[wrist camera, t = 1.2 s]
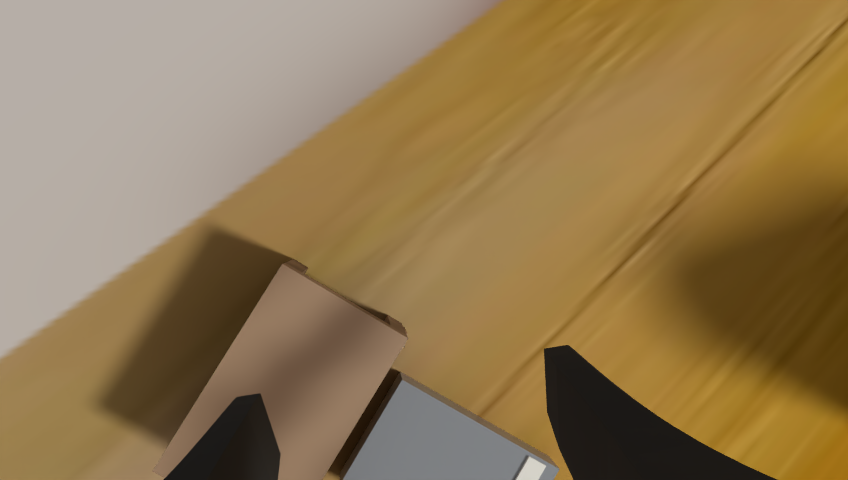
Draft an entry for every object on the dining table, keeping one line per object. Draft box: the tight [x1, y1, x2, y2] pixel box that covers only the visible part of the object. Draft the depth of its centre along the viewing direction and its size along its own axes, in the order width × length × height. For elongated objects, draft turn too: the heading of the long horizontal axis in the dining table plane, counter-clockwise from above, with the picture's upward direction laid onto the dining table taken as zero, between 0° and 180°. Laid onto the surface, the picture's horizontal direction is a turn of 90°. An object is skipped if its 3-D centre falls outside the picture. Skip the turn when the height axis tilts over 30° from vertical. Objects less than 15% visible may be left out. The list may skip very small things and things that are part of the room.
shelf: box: [153, 259, 408, 480], centre depth 28 cm, size 8×12×4 cm, turn 148°
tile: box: [339, 372, 559, 480], centre depth 31 cm, size 11×7×2 cm, turn 59°
